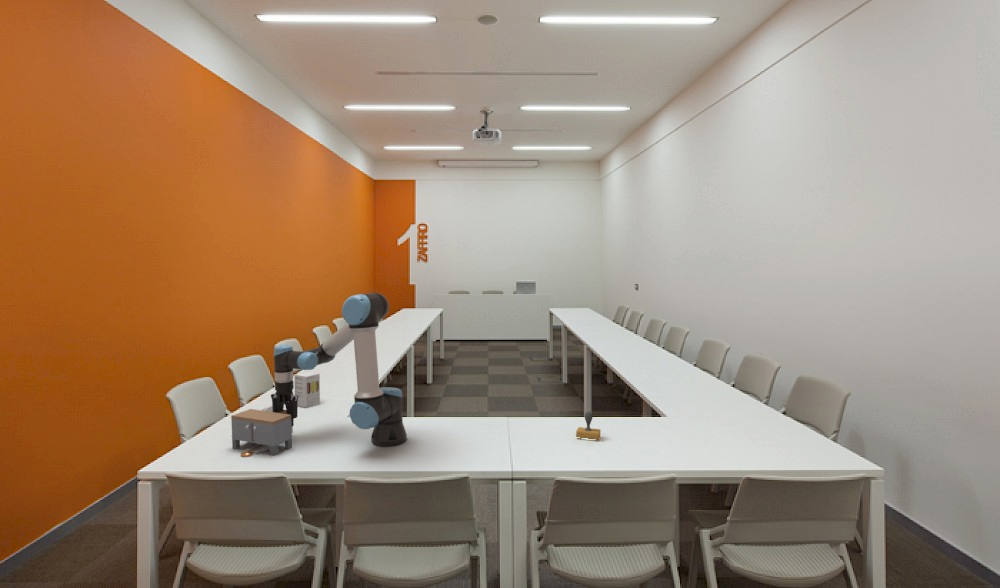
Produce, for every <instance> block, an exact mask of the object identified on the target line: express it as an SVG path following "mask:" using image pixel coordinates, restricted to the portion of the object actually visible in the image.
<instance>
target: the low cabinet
mask: <svg viewBox="0 0 1000 588" xmlns="http://www.w3.org/2000/svg"><path fill="white" fill-rule="evenodd" d="M261 410H262V409H261ZM261 410H260V409H253V408H249V409H247V410H244V411H241V412H238V413H235V414H233V415H231V416H230V419H231V442H232V444H231V446H232V449H233V450H238V449H240V448H241V442H245V443H246V442H247V443H250V444H256V445H259V444H263V445H268V446H270V448H269V456H271V457H275V456H277V455H278V454H279V453H278V445H280V444H282V442H283V443H284V449H285V450H286V449H287V450H290V449H292V448H293V433H292V425H291V415H289V414H282V413H275V412H268V411H261Z"/></svg>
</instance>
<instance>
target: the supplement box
mask: <svg viewBox="0 0 1000 588" xmlns="http://www.w3.org/2000/svg"><path fill="white" fill-rule="evenodd" d="M320 375H321V374H320V373H319V372H313V371H307V372H301V373H297V374H293V379H294V380H293V382H294V395H295V396H298V397H299V398H298V403H297V407H298V408H303V407H304V409H308V408H311V406H312V407H314V405H315V406H318V405H317V404H319V405H320V404H321V395H320V394H321V390H320V389H321V388H320V387H321V386H320V383H321V382H320V381H321V380H320V379H321V377H320Z"/></svg>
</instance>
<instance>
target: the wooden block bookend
mask: <svg viewBox="0 0 1000 588" xmlns="http://www.w3.org/2000/svg"><path fill="white" fill-rule="evenodd" d="M279 413H282V414H287V411H286V409H283V410H282V411H279ZM266 450H270V446H268V445H263V444H256V445H254V446H252V447H249V448H247V449H245V451H253V454H254V453H255V454H254V455H257V454H260V453H263V452H265V451H266Z"/></svg>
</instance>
